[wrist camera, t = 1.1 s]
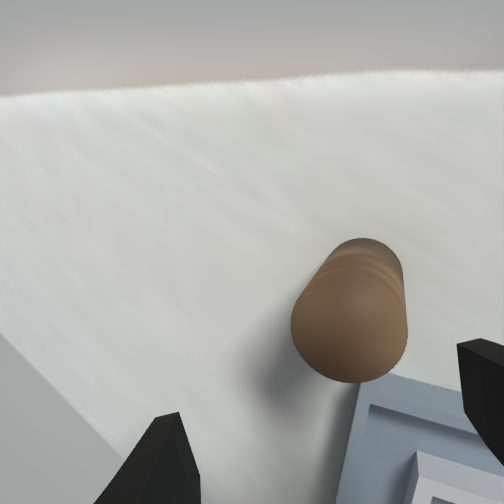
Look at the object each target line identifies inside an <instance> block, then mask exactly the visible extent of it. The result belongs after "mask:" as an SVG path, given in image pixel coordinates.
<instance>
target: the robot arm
mask: <svg viewBox="0 0 504 504" xmlns="http://www.w3.org/2000/svg"><path fill="white" fill-rule="evenodd" d="M457 353H458V362H459V371H460V381H461V390H462V399H463V408H464V413H465V414H466V416H467V417H468V419H469V420H470V422H471V424H472V425H473V427H474V428H475V430H476V431H477V433H478V434H479V436H480V437H481V438H482V440H483V441H484V443H485V444H486V446H487V447H488V448H489V450H490V451H491V452H492V453H493V454H494V456H495V457H496V458H497V459H498V460H499V462H500V463H501V464H502V465H503V466H504V346H503V345H500V344H497V343H494V342H491V341H488V340H485V339H481V338H479V339H475V340H471V341H467V342H462V343H458V344H457ZM94 504H201V489H200V474H199V471H198V468H197V465H196V462H195V459H194V456H193V453H192V450H191V447H190V444H189V441H188V438H187V435H186V432H185V429H184V426H183V423H182V420H181V417H180V414H179V412H176V413H172V414H168V415H164V416H160V417H155V419H154V420H153V422H152V423H151V424H150V426H149V427H148V429H147V430H146V432H145V433H144V435H143V436H142V437H141V439H140V440H139V442H138V443H137V445H136V446H135V448H134V449H133V451H132V452H131V454H130V455H129V456H128V458H127V459H126V461H125V462H124V464H123V465H122V466H121V468H120V469H119V471H118V472H117V474H116V475H115V477H114V478H113V479H112V480H111V482H110V483H109V484H108V486H107V487H106V488H105V490H104V491H103V492H102V494H101V495H100V496H99V497H98V499H97V500H96V501H95V503H94Z"/></svg>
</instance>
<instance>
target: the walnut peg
mask: <svg viewBox="0 0 504 504" xmlns="http://www.w3.org/2000/svg"><path fill="white" fill-rule="evenodd" d="M291 333H292V338H293V341H294V344H295V346H296V348H297V350H298V352H299V354H300V355H301V357H302V358H303V359H304V360H305V362H306V363H307V364H308V365H309V366H310V367H312V368H313V369H314V370H315V371H317V372H318V373H320V374H321V375H323V376H325V377H327V378H330V379H332V380H335V381H339V382H344V383H363V382H368V381H372V380H375V379H377V378H379V377H381V376H383V375H385V374H386V373H388V372H389V371H390V370H391V369H392V368H393V367H394V366H395V365H396V364H397V363H398V361H399V360H400V359H401V357H402V355H403V353H404V351H405V347H406V344H407V338H408V328H407V316H406V305H405V294H404V282H403V272H402V267H401V264H400V261H399V259H398V258H397V256H396V255H395V253H394V252H393V251H392V250H391V249H390V248H389V247H387V246H386V245H385V244H383V243H381V242H379V241H376V240H372V239H367V238H358V239H352V240H349V241H346V242H344V243H342V244H341V245H339V246H338V247H337V248H336V249H335V250H334V251H333V252H332V253H331V254H330V256H329V257H328V258H327V260H326V261H325V262H324V264H323V265H322V267H321V268H320V269H319V271H318V272H317V273H316V275H315V276H314V277H313V279H312V280H311V281H310V283H309V284H308V285H307V287H306V288H305V290H304V291H303V292H302V294H301V295H300V296H299V298H298V300H297V301H296V303H295V306H294V308H293V311H292V316H291Z"/></svg>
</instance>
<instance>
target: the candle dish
mask: <svg viewBox="0 0 504 504" xmlns="http://www.w3.org/2000/svg"><path fill="white" fill-rule="evenodd" d="M335 504H504V466H503V465H502V464H501V463H500V462H499V460H498V459H497V458H496V457H495V456H494V454H493V453H492V452H491V451H490V450H489V448H488V447H487V446H486V444H485V443H484V441H483V440H482V438H481V437H480V436H479V434H478V433H477V431H476V430H475V428H474V427H473V425H472V424H471V422H470V420H469V419H468V417H467V416H466V414H465V413H464V408H463V399H462V393H460V392H456V391H453V390H449V389H445V388H441V387H438V386H434V385H430V384H426V383H422V382H419V381H415V380H411V379H407V378H404V377H400V376H396V375H392V374H388V373H386V374H385V375H383V376H381V377H379V378H377V379H375V380H372V381H368V382H363V383H360V386H359V391H358V395H357V400H356V405H355V410H354V414H353V419H352V424H351V428H350V433H349V438H348V443H347V447H346V452H345V457H344V461H343V466H342V471H341V476H340V480H339V485H338V490H337V494H336V499H335Z"/></svg>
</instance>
